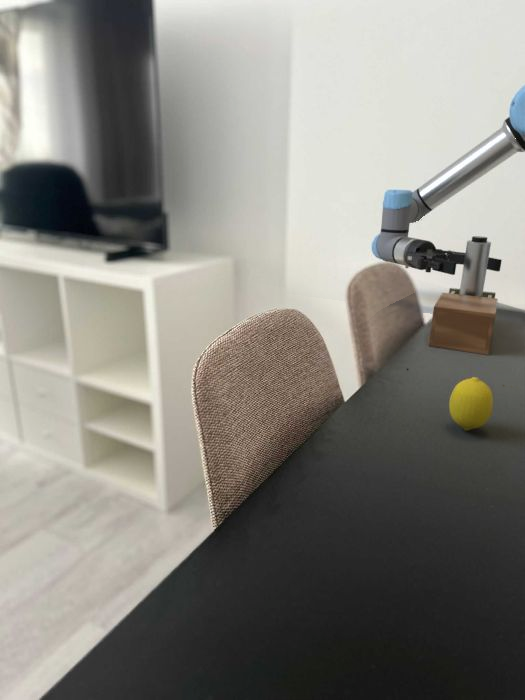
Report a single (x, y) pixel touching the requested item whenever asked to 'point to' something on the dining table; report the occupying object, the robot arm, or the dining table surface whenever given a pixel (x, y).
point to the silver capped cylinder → (475, 266)
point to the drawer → (485, 294)
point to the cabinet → (463, 323)
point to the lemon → (471, 403)
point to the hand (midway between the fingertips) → (477, 267)
